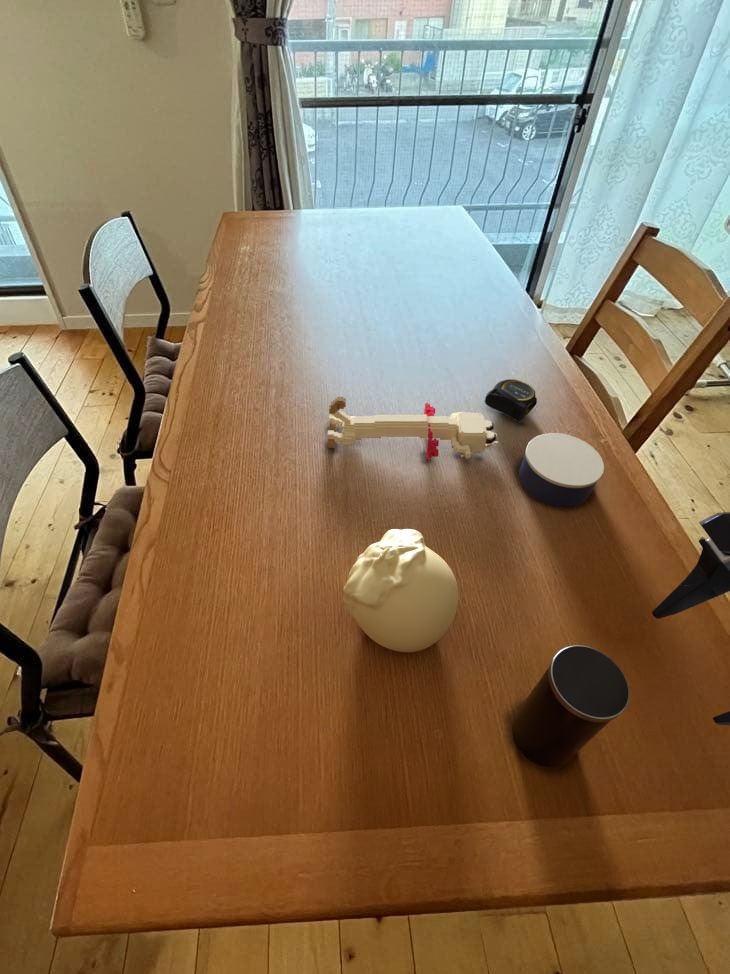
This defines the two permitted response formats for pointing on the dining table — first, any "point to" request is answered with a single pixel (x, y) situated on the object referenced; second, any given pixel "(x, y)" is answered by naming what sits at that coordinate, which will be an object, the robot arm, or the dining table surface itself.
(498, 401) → the tape measure
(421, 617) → the sculpture
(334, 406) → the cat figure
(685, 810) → the dining table surface
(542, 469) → the coffee tin
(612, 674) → the tube
